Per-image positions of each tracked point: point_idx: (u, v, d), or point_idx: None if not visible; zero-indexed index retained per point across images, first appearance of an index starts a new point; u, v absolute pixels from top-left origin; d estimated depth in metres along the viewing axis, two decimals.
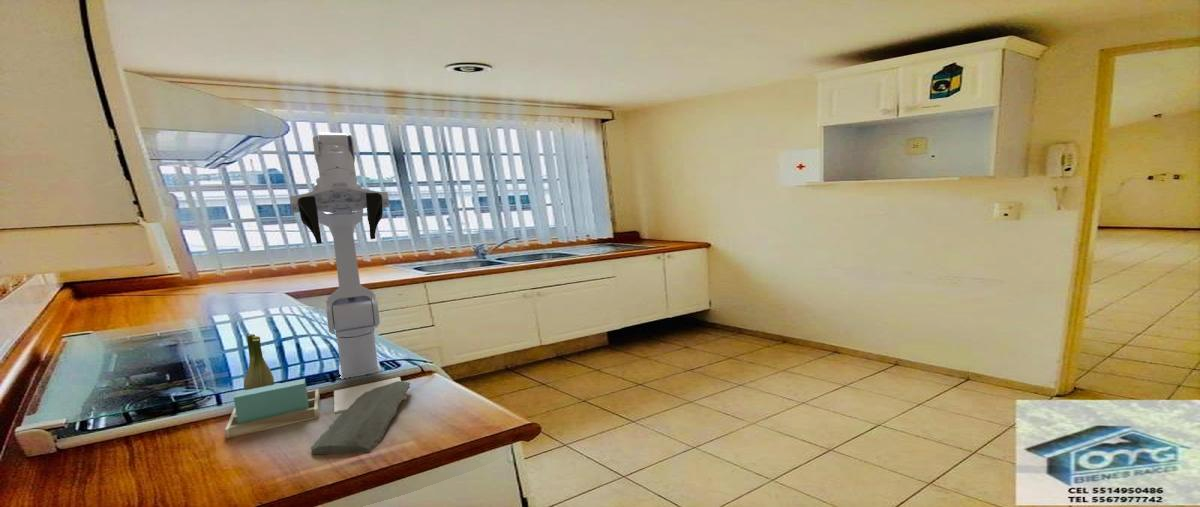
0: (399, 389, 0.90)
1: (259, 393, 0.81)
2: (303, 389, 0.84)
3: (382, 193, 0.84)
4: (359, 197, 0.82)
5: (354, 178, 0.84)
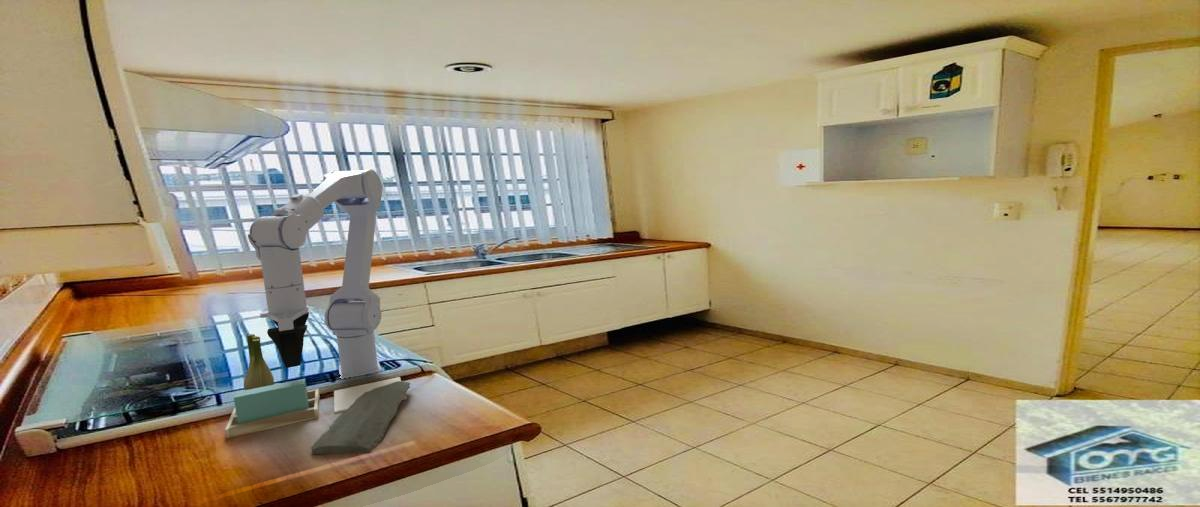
0: (399, 389, 0.90)
1: (259, 393, 0.81)
2: (303, 389, 0.84)
3: (277, 321, 0.79)
4: None
5: (274, 294, 0.81)
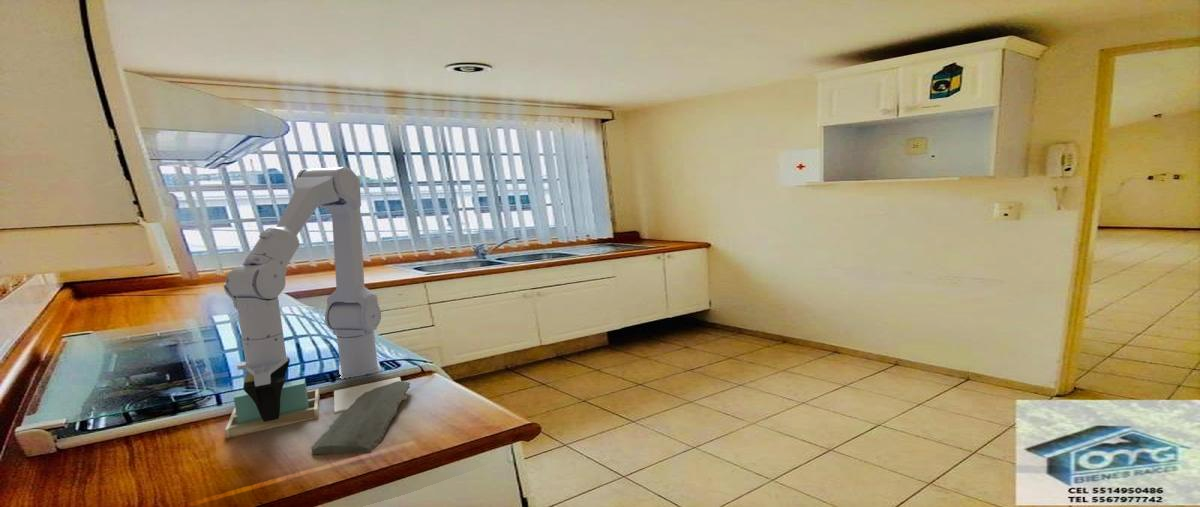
0: (399, 389, 0.90)
1: None
2: (303, 389, 0.84)
3: (254, 376, 0.76)
4: None
5: (251, 346, 0.79)
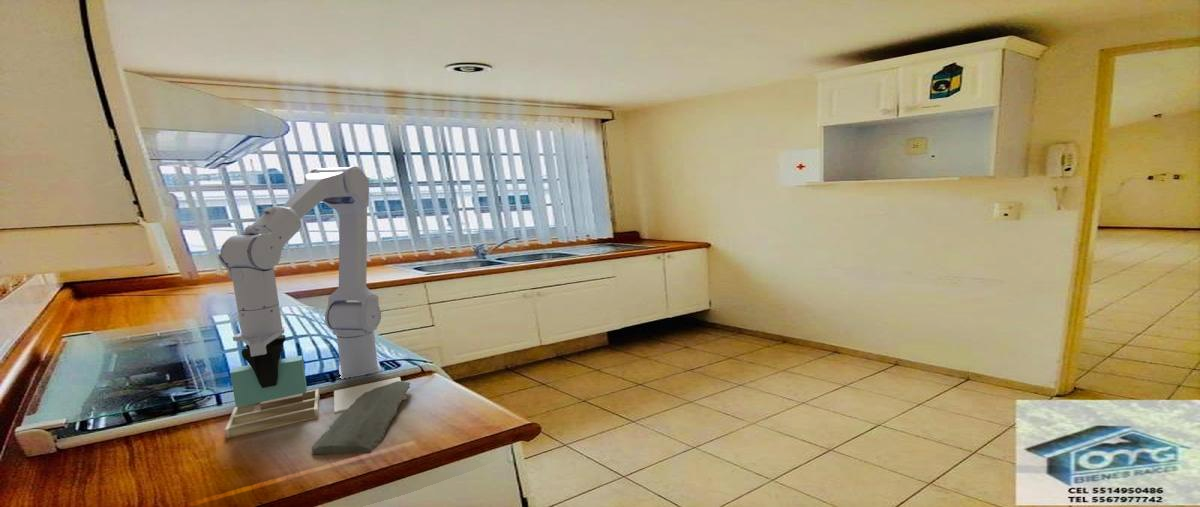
0: (399, 389, 0.90)
1: None
2: (300, 365, 0.84)
3: None
4: None
5: (246, 317, 0.78)
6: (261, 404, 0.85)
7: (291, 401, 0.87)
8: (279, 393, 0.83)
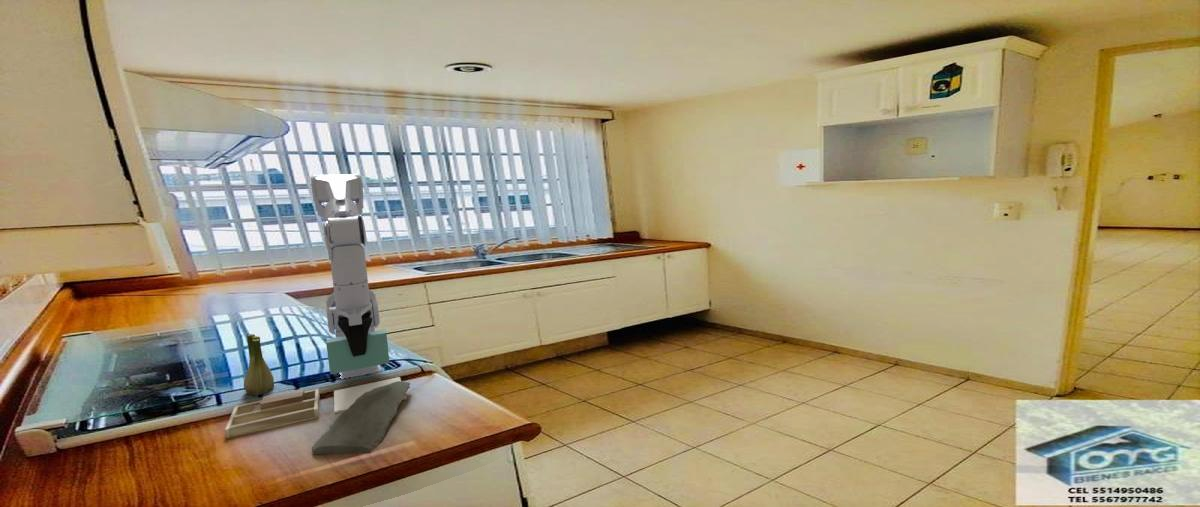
0: (399, 389, 0.90)
1: None
2: (385, 338, 0.92)
3: (348, 316, 0.83)
4: None
5: (342, 291, 0.86)
6: (261, 404, 0.85)
7: (291, 401, 0.87)
8: (367, 363, 0.91)
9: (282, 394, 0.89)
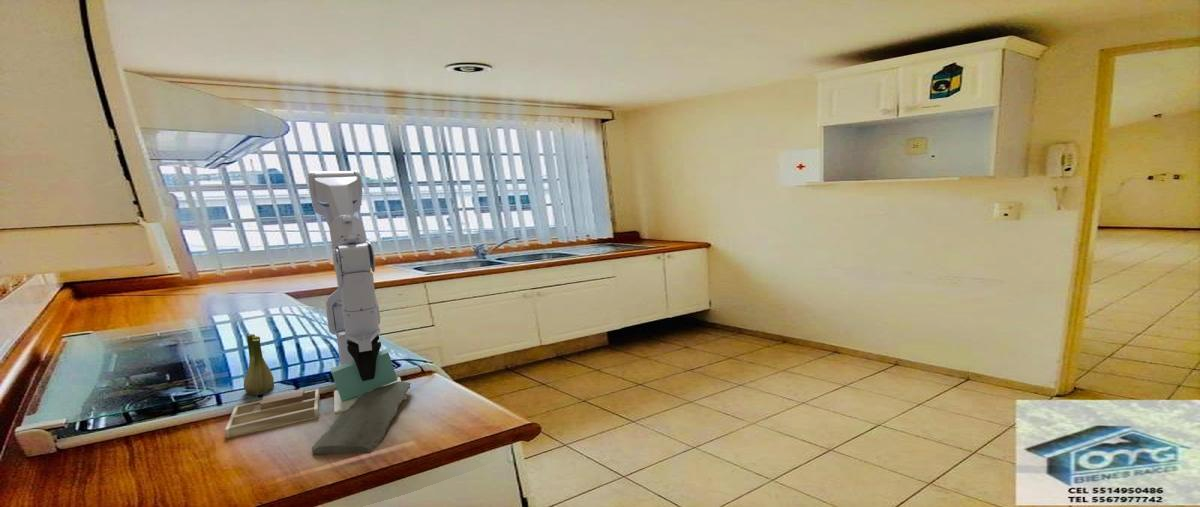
0: (399, 389, 0.90)
1: (352, 365, 0.90)
2: (388, 357, 0.92)
3: (358, 343, 0.85)
4: None
5: (352, 317, 0.87)
6: (261, 404, 0.85)
7: (291, 401, 0.87)
8: (375, 384, 0.92)
9: (282, 394, 0.89)
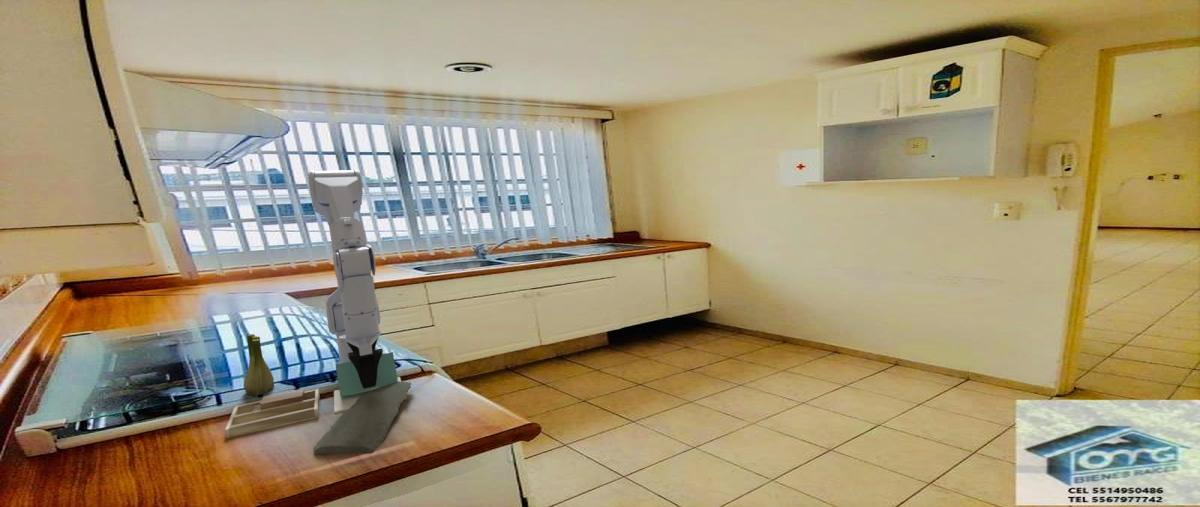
0: (400, 389, 0.90)
1: None
2: (392, 357, 0.95)
3: (358, 346, 0.85)
4: None
5: (352, 321, 0.88)
6: (261, 404, 0.85)
7: (291, 401, 0.87)
8: (376, 383, 0.93)
9: (282, 394, 0.89)
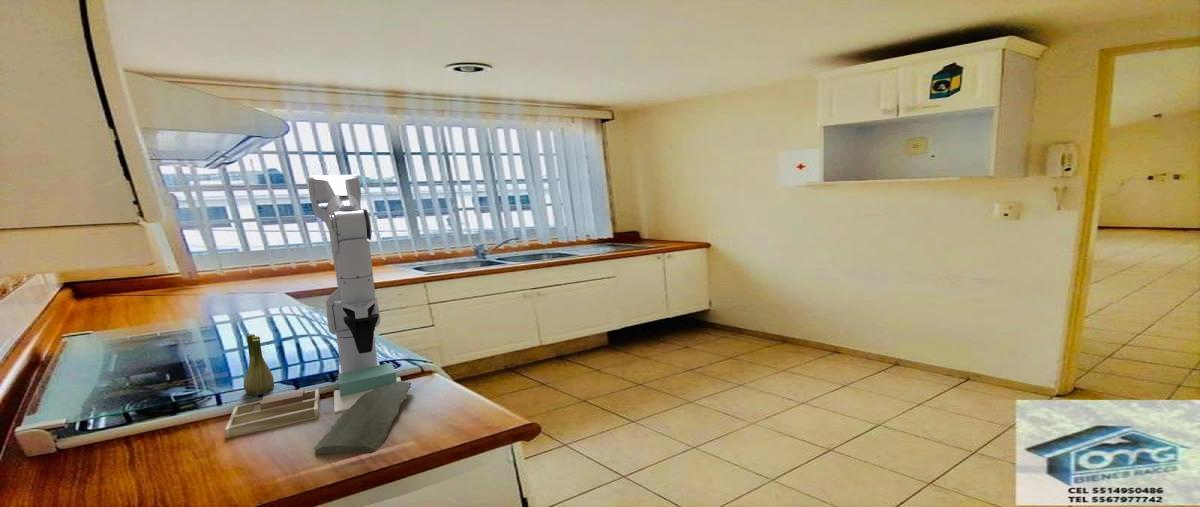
0: (400, 389, 0.90)
1: None
2: (391, 364, 1.00)
3: (354, 309, 0.84)
4: None
5: (348, 285, 0.87)
6: (261, 404, 0.85)
7: (291, 401, 0.87)
8: (374, 375, 0.95)
9: (282, 394, 0.89)
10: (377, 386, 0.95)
